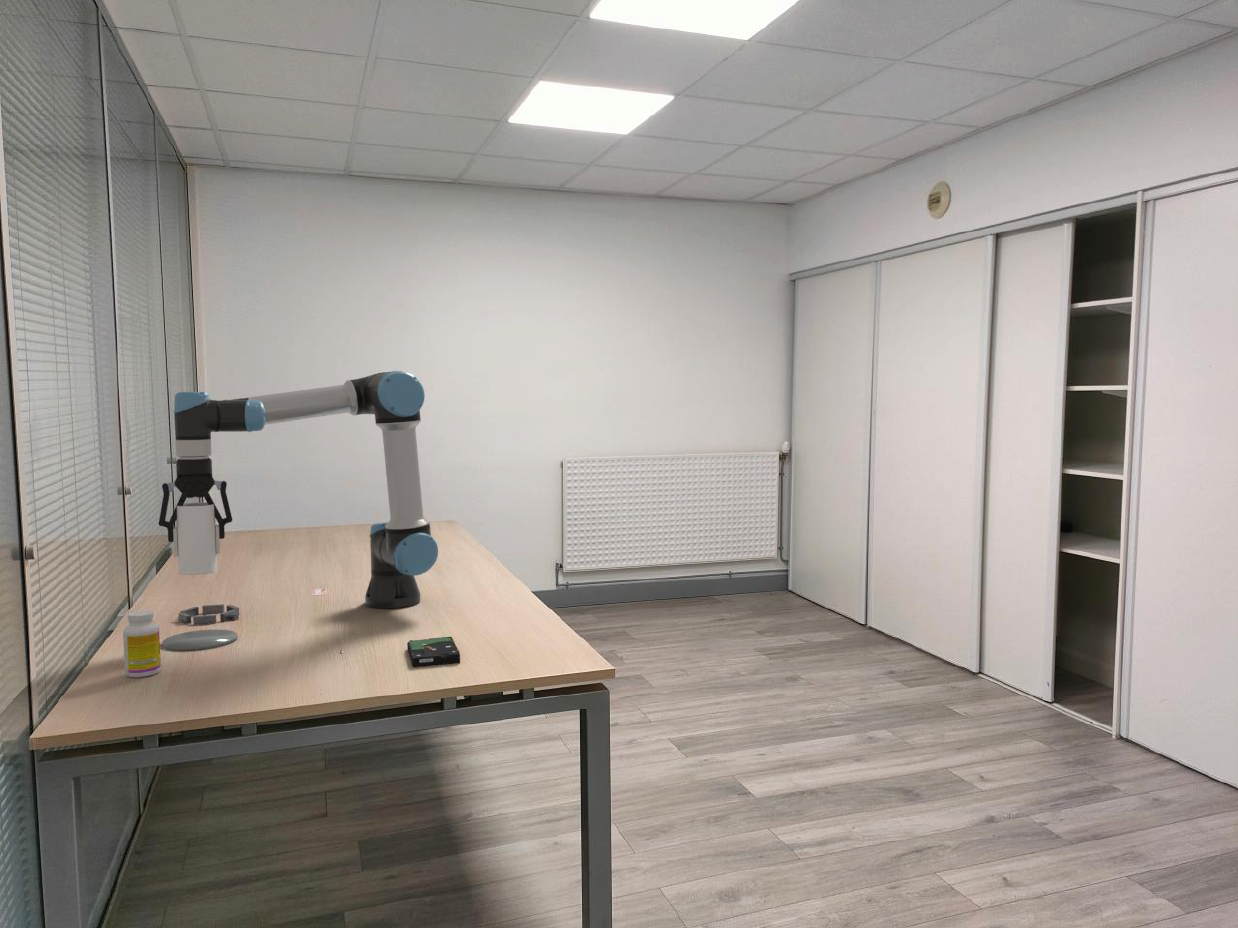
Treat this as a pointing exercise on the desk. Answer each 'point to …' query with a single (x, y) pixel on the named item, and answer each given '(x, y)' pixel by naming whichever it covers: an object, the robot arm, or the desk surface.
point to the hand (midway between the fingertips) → (197, 554)
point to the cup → (196, 539)
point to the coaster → (199, 640)
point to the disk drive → (433, 652)
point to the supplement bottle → (141, 645)
